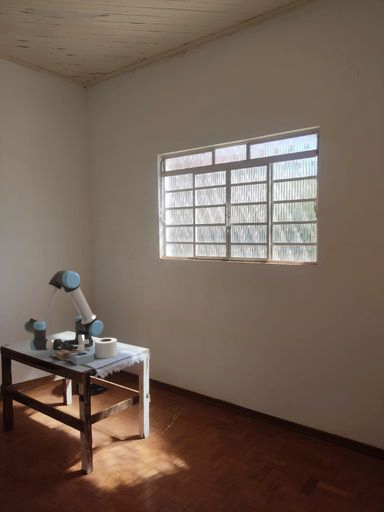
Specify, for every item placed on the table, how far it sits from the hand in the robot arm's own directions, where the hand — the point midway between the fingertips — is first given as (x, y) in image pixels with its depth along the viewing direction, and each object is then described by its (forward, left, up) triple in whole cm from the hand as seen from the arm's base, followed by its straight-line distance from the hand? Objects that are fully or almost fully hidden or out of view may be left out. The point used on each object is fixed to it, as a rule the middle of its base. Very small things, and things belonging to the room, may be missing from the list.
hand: (86, 344), depth 249 cm
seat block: (+2, -2, -11) cm, 12 cm away
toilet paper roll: (-17, -4, -12) cm, 21 cm away
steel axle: (+2, -2, -11) cm, 12 cm away
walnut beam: (+2, -18, -11) cm, 21 cm away
